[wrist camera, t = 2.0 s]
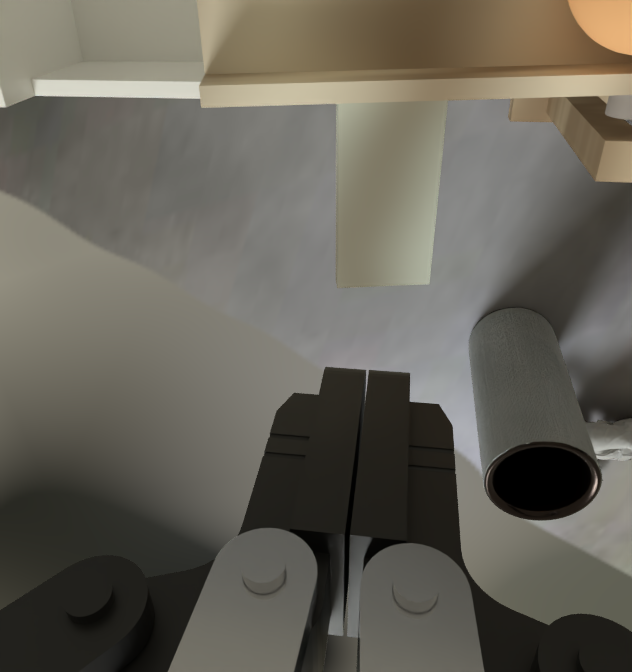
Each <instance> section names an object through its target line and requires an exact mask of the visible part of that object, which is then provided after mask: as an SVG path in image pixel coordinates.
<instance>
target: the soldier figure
mask: <svg viewBox="0 0 632 672" xmlns="http://www.w3.org/2000/svg"><path fill="white" fill-rule="evenodd" d="M585 424H586V427H587V430H588V433H589V436H590V439H591V442H592V445H593V448H594V451H595V454H596V457H597V459H601V460H610V459H611V460H617V459H618V460H619V461H624V460H631V458H632V418H630V419H623V420H620V421H617V422H614V423H609V422H607V421H603V420H598V421H597V422H586V421H585ZM602 481H603V480H602Z"/></svg>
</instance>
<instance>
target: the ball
mask: <svg viewBox="0 0 632 672" xmlns="http://www.w3.org/2000/svg"><path fill="white" fill-rule="evenodd" d="M568 3H569V6H570V9H571V11H572V14H573V16H574V18H575V19H576V21H577V23H578V24H579V26H580V27H581V28H582V29H583V30H584V32H585V33H586V34H587V35H588V36H589V37H590V38H592V39H593V40H594V41H595V42H597V43H598V44H600V45H602V46H603V47H605V48H607V49H610V50H612V51H615V52H618V53H622V54H627V55H632V0H568Z"/></svg>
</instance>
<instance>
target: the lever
mask: <svg viewBox="0 0 632 672" xmlns="http://www.w3.org/2000/svg"><path fill="white" fill-rule="evenodd" d="M197 8H198V17H199V26H200V36H201V45H202V54H203V63H204V72H205V75H204V77H203V79H202V81H201V83H200V85H199V92H200V101H201V108H207V107H240V106H274V105H308V104H336V283H337V288H350V287H374V286H397V285H421V284H429V283H430V273H431V263H432V253H433V243H434V233H435V223H436V213H437V203H438V193H439V183H440V173H441V163H442V153H443V143H444V134H445V124H446V114H447V104H448V100H478V99H512V98H546V97H580V96H609V97H608V102H607V106H606V110H605V115H607V116H609V117H613V118H618V119H626V120H632V55H627V54H622V53H618V52H615V51H612V50H610V49H607V48H605V47H603V46H602V45H600V44H598V43H597V42H595V41H594V40H593V39H592V38H590V37H589V36H588V35H587V34H586V33H585V32H584V30H583V29H582V28H581V27H580V26H579V24H578V23H577V21H576V19H575V18H574V16H573V14H572V11H571V9H570V6H569V3H568V0H197Z"/></svg>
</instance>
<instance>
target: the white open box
mask: <svg viewBox="0 0 632 672" xmlns="http://www.w3.org/2000/svg"><path fill="white" fill-rule="evenodd" d="M204 75H205V72H204V63H203V54H202V45H201V36H200V26H199V17H198V8H197V0H0V107H8V106H10V105H13V104H15V103H18V102H20V101H23V100H25V99H28V98H31V97H33V96H81V97H139V98H197V99H200V92H199V85H200V83H201V81H202V79H203V77H204Z"/></svg>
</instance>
